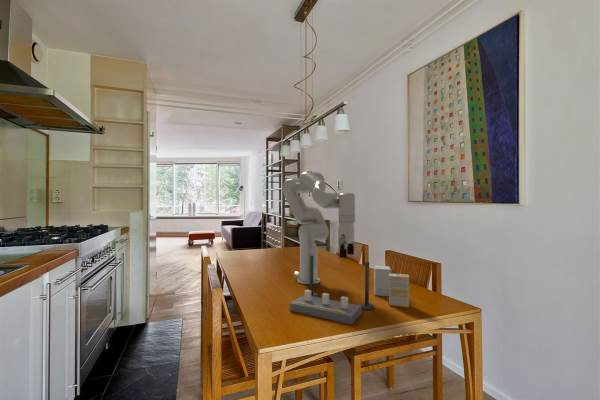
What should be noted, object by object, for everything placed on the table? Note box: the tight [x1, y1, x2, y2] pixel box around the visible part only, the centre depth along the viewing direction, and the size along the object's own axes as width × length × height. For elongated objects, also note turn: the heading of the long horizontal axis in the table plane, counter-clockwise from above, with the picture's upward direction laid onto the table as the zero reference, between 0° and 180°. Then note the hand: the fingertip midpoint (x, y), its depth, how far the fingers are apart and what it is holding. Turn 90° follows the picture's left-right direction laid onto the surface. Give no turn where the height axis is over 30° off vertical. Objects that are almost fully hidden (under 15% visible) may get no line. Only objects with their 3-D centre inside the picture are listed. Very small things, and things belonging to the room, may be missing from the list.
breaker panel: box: [289, 294, 363, 325], centre depth 118 cm, size 26×12×3 cm, turn 61°
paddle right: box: [340, 295, 349, 309], centre depth 114 cm, size 2×2×4 cm
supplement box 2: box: [388, 272, 410, 309], centre depth 127 cm, size 8×5×13 cm, turn 71°
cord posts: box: [309, 256, 375, 311], centre depth 130 cm, size 32×6×19 cm, turn 61°
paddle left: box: [304, 289, 311, 301], centre depth 122 cm, size 2×2×4 cm
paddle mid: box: [321, 292, 330, 305], centre depth 118 cm, size 2×2×4 cm
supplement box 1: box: [373, 265, 392, 297], centre depth 142 cm, size 7×7×13 cm
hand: (346, 255), depth 138 cm, fingers open, 9 cm apart
